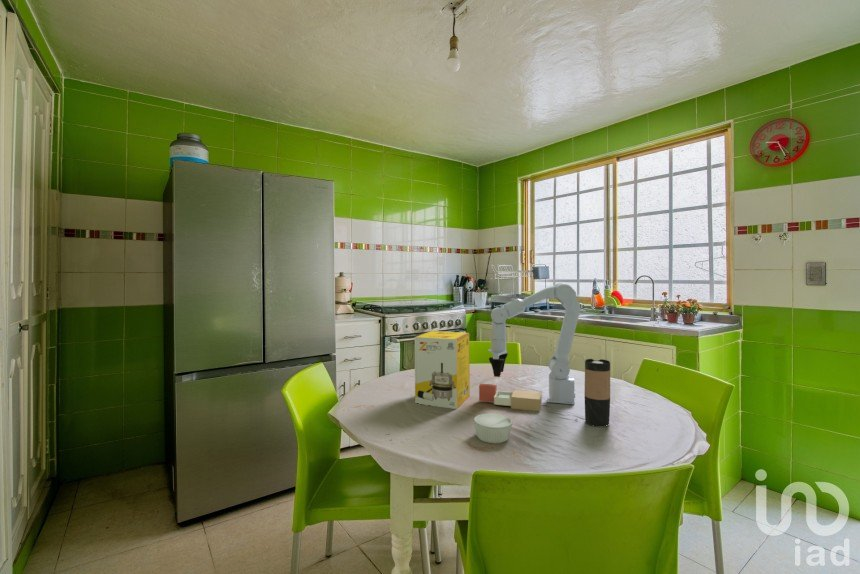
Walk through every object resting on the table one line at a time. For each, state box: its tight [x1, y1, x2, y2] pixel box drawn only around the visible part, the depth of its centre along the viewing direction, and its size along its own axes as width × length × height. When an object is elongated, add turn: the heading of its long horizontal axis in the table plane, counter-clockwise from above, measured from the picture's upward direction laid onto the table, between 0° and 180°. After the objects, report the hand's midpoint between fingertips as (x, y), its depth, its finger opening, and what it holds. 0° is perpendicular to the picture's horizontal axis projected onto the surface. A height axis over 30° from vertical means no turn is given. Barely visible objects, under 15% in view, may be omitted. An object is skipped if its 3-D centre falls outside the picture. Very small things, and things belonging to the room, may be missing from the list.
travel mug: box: [584, 358, 611, 427], centre depth 129 cm, size 8×8×20 cm
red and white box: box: [478, 383, 513, 407], centre depth 149 cm, size 15×8×6 cm, turn 72°
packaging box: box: [414, 330, 471, 410], centre depth 154 cm, size 16×16×25 cm
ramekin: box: [473, 412, 513, 444], centre depth 119 cm, size 11×11×5 cm
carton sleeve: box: [510, 389, 543, 412], centre depth 146 cm, size 10×9×4 cm
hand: (498, 374), depth 155 cm, fingers open, 7 cm apart
